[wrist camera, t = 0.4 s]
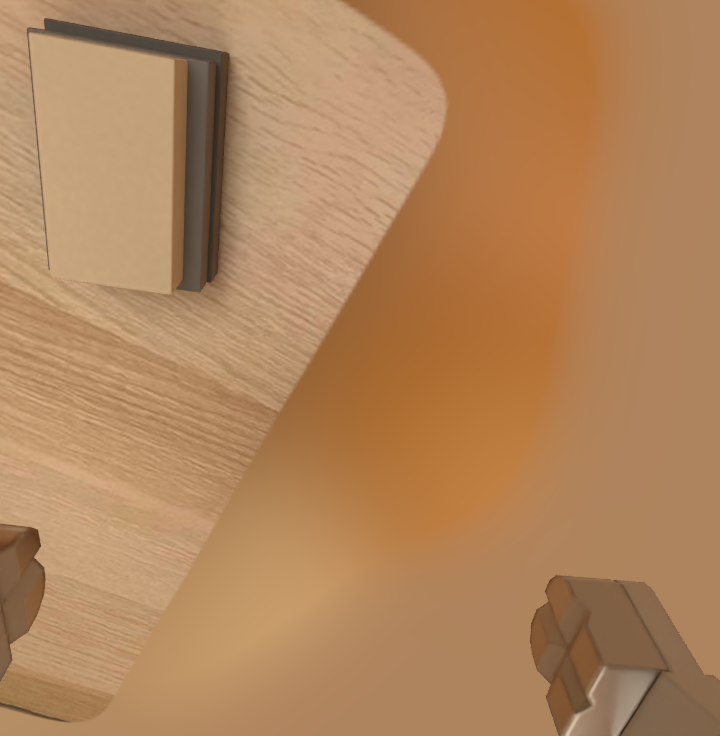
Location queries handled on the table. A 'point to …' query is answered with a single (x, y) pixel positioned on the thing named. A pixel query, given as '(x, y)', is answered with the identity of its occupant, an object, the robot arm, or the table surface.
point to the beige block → (111, 162)
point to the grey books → (201, 139)
